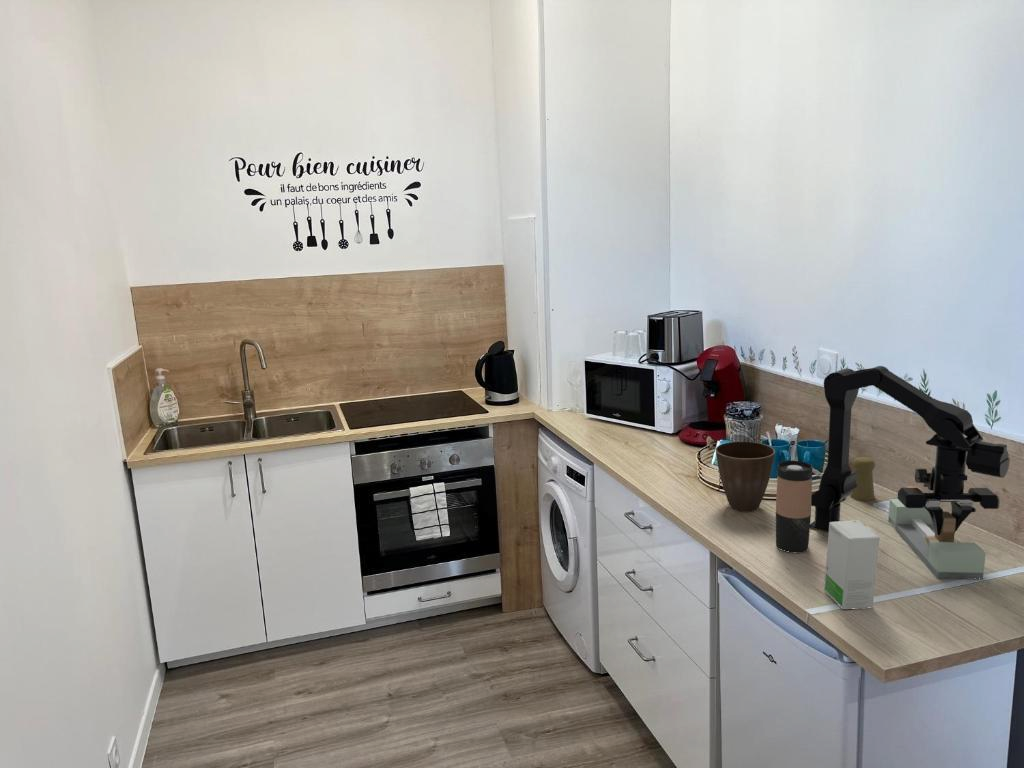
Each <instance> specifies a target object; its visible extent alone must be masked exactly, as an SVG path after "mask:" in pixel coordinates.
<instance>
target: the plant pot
mask: <svg viewBox="0 0 1024 768" xmlns="http://www.w3.org/2000/svg"><path fill="white" fill-rule="evenodd" d="M775 450H776V449H774V448H773V447H771V446H770V445H768V444H764V443H759V442H755V441H729V442H724V443H721V444H719V445H717V446H716V447H715V456H716V463H717V469H718V472H719V477H720V481H721V485H722V488H723V491H724V494H725V496H726V499H727V503H728V505H729V507H730V509H732V510H734V511H738V512H743V513H744V512H746V513H747V512H755V511H757V510H758V509H759V507H760V505H761V504H762V501H763V498H764V496H765V494H766V491H767V488H768V484H769V481H770V479H771V478H770V477H771V475H772V474H771V473H772V469H773V465H774V460H775V455H776V454H775V453H776V451H775Z"/></svg>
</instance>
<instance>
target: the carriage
mask: <svg viewBox="0 0 1024 768" xmlns="http://www.w3.org/2000/svg"><path fill="white" fill-rule="evenodd" d="M955 524H956V518H955V517H954V516H952V515H951V513H950V512H949V511H943V515H942V525H941V532H940V535H937V534H936V532H935V536H925V543H926V544H927V545H928V546H930V542H960V541H959V539H957V537H956V536H955V535H956V532H955Z"/></svg>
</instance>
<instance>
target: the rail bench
mask: <svg viewBox="0 0 1024 768" xmlns="http://www.w3.org/2000/svg"><path fill="white" fill-rule="evenodd" d="M888 508H889V509H888V521H887V522H888V523H889V525H890V526H891V527H892V528H893V529H894V530H895V532H896V533H897V534H898V535H899V536H900V537H901V539H902V540H903V541H904V542H905V543H906V544H907V545H908V547H909V548H910V549H911V550H912V551H913V552H914V553H915V555H916V556H917V557H918V558H919V559H920V561H921V562H922V563H923V564H924V566H925V567H926V568H927V569H928V570H929V571H930V572H931V573H932V575H933V576H935V578H936V579H946V580H947V579H951V580H954V578H955V579H956V578H973V579H972V580H984V572H985V563H986V551H984V550H983V549H982V547H980V546H979V545H978V544H977V543H976V542H965V541H964V542H960V541H959V542H930V546H928V545H927V544H926V543H925V536H935V529H934V526H933V522H932V519H931V516H930V514H929V512H928V511H927V510H926V509H925V508H924V507H923V508H907V507H905V506H904V505H903V504H902V503H901V502H900V501H899V500H898V498H895V499H894V498H890V499H889V507H888ZM974 578H976V579H974ZM979 578H980V579H979ZM956 580H957V579H956Z"/></svg>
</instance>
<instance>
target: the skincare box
mask: <svg viewBox="0 0 1024 768" xmlns="http://www.w3.org/2000/svg"><path fill="white" fill-rule="evenodd" d="M880 538H881V537H880V536H879V535H877V534H876V533H875V532H873V530H871V527H869V526H866V525H865V524H863V523H862V522H861V521H860V520H859V519H853V520H842V521H841V520H840V521H838V522H829V532H828V538H827V551H826V559H825V560H826V561H825V571H824V572H825V573H824V585H823V591H824V593H826V594H827V596H830V597H831V598H832V599H833V600H834V601H836V602H837V603H838V604H839V605H840V606H841V607H842V608H843V609H852V608H867V609H869V608H868V607H873V608H874V596H875V586H876V578H877V568H878V567H877V566H878V559H879V549H880V548H879V547H880V540H881V539H880ZM830 597H829V598H830ZM831 598H830V599H831ZM834 601H833V602H834Z"/></svg>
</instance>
